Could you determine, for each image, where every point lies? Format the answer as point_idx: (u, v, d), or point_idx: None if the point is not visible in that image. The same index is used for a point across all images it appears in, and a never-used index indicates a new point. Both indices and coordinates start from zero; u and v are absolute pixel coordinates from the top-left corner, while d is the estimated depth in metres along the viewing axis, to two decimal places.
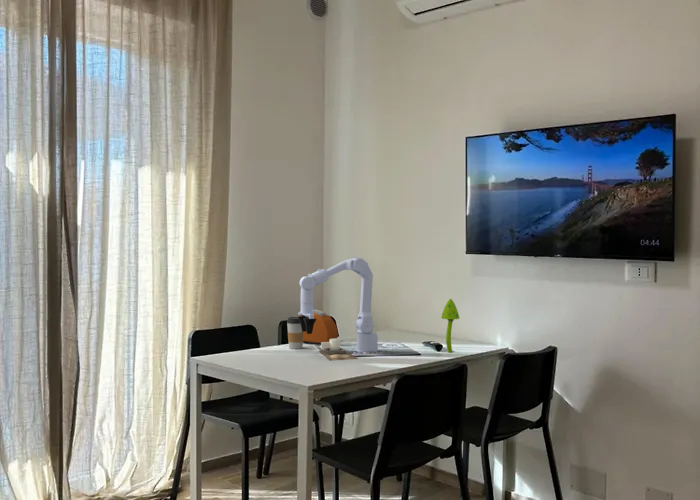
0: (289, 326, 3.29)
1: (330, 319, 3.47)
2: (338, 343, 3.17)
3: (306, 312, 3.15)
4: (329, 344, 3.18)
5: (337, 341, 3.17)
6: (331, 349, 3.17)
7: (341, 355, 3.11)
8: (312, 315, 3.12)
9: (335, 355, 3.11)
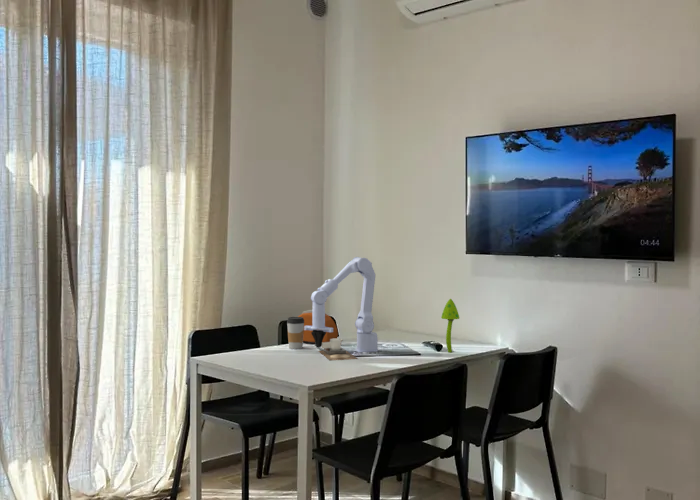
0: (289, 326, 3.29)
1: (330, 319, 3.47)
2: (338, 343, 3.17)
3: (322, 326, 3.16)
4: (329, 344, 3.18)
5: (337, 341, 3.17)
6: (331, 349, 3.17)
7: (341, 355, 3.11)
8: (332, 329, 3.15)
9: (335, 355, 3.11)
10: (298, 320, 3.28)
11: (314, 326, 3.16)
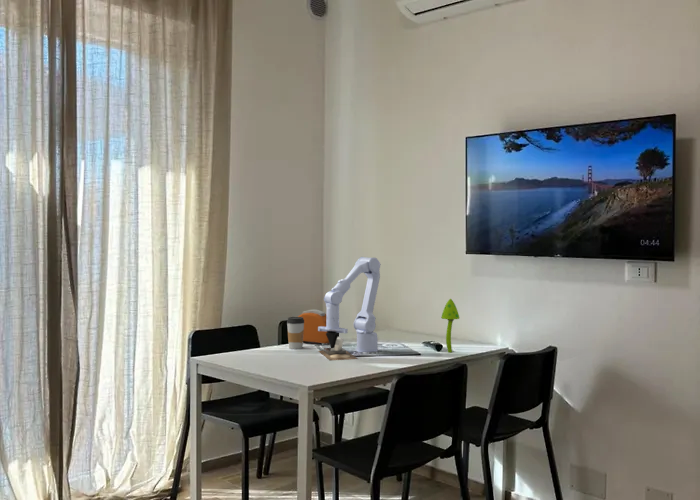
0: (289, 326, 3.29)
1: None
2: None
3: (336, 327, 3.12)
4: (338, 345, 3.16)
5: None
6: (339, 349, 3.17)
7: (341, 355, 3.11)
8: (346, 330, 3.11)
9: (335, 355, 3.11)
10: (298, 320, 3.28)
11: (328, 327, 3.12)
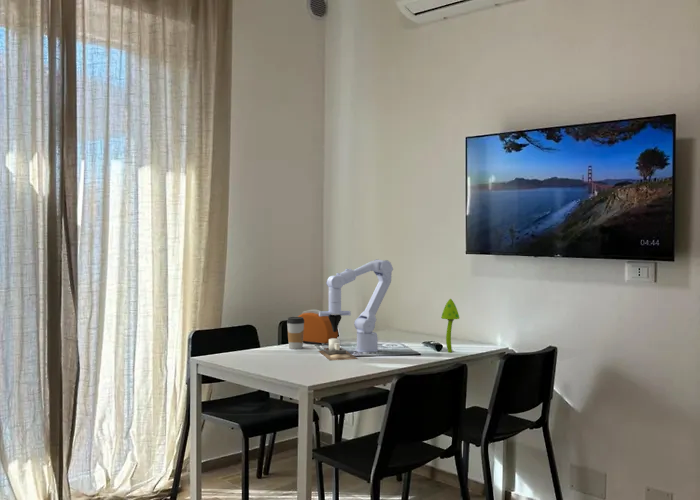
0: (289, 326, 3.29)
1: None
2: None
3: None
4: None
5: None
6: None
7: (341, 355, 3.11)
8: (319, 313, 3.16)
9: (335, 355, 3.11)
10: (298, 320, 3.28)
11: None
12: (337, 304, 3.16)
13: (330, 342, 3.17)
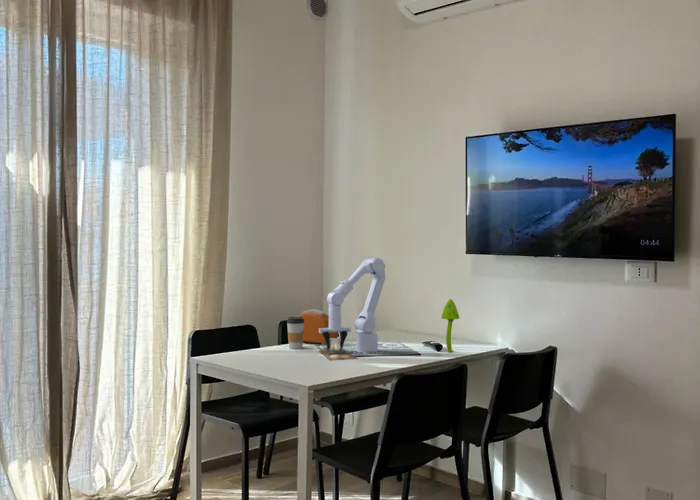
0: (289, 326, 3.29)
1: None
2: None
3: None
4: None
5: None
6: None
7: (341, 355, 3.11)
8: (319, 330, 3.17)
9: (335, 355, 3.11)
10: (298, 320, 3.28)
11: None
12: (337, 321, 3.16)
13: (330, 342, 3.18)
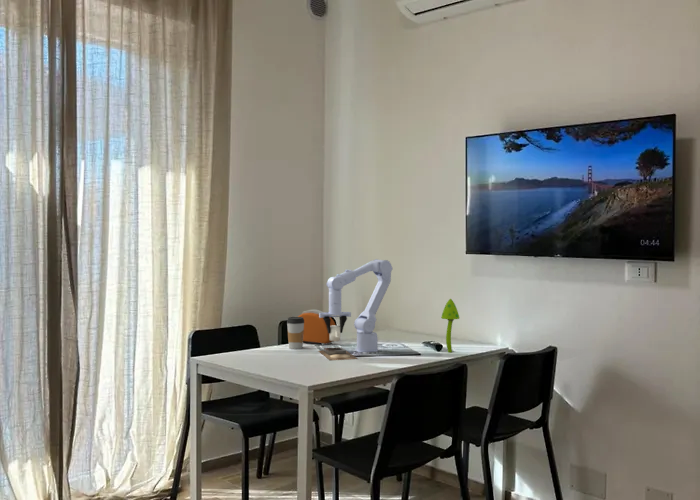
0: (289, 326, 3.29)
1: None
2: None
3: None
4: None
5: None
6: None
7: (341, 355, 3.11)
8: (319, 314, 3.16)
9: (335, 355, 3.11)
10: (298, 320, 3.28)
11: None
12: (337, 305, 3.16)
13: (331, 329, 3.17)
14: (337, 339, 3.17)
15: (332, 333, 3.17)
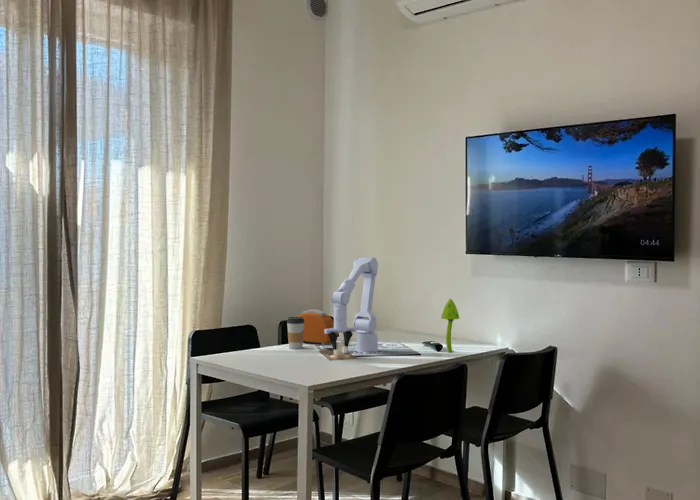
0: (289, 326, 3.29)
1: (330, 319, 3.47)
2: None
3: None
4: None
5: None
6: None
7: None
8: (325, 330, 3.06)
9: None
10: (298, 320, 3.28)
11: None
12: (344, 321, 3.07)
13: (336, 345, 3.08)
14: (342, 354, 3.09)
15: (337, 349, 3.08)
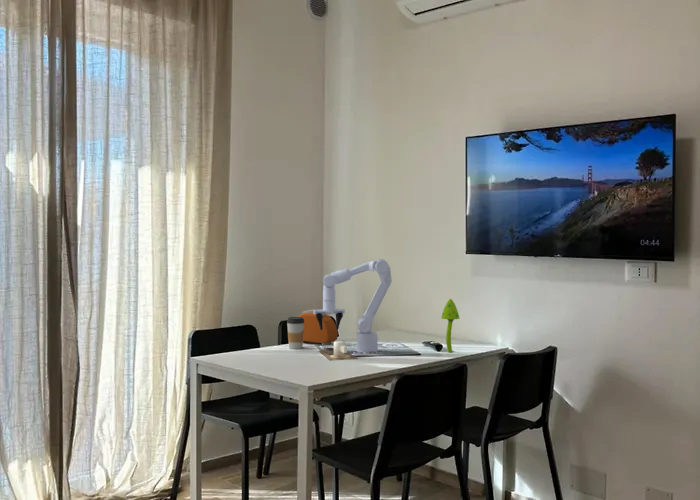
0: (289, 326, 3.29)
1: (330, 319, 3.47)
2: None
3: (323, 308, 3.25)
4: None
5: None
6: None
7: None
8: (314, 311, 3.23)
9: None
10: (298, 320, 3.28)
11: None
12: (331, 302, 3.22)
13: (336, 345, 3.08)
14: (342, 354, 3.09)
15: (337, 349, 3.08)
